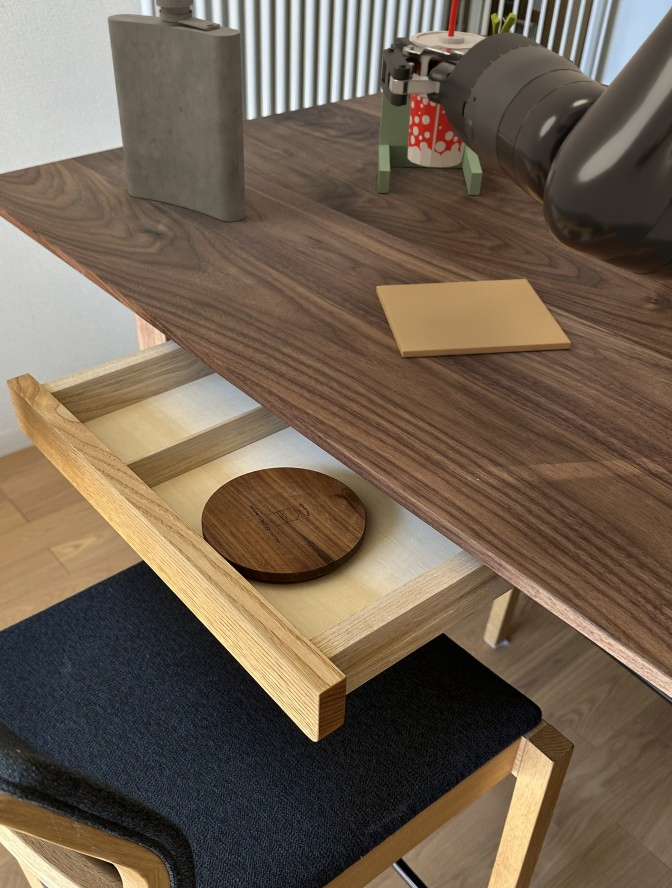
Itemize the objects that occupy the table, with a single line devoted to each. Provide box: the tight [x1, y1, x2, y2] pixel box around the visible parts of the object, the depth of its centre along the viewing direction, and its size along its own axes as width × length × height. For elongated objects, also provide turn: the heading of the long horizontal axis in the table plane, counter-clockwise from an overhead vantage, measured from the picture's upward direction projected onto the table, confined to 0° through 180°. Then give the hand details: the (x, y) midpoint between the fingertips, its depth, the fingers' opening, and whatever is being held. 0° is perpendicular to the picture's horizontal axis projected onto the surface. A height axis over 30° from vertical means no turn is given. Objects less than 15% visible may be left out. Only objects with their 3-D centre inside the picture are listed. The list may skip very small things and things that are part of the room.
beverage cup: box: [408, 0, 485, 168], centre depth 68 cm, size 6×6×14 cm
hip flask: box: [107, 0, 247, 223], centre depth 88 cm, size 16×4×20 cm, turn 55°
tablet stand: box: [377, 91, 483, 196], centre depth 96 cm, size 11×10×12 cm
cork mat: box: [375, 278, 572, 358], centre depth 74 cm, size 14×12×1 cm
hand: (437, 50), depth 69 cm, fingers closed on beverage cup, 6 cm apart
